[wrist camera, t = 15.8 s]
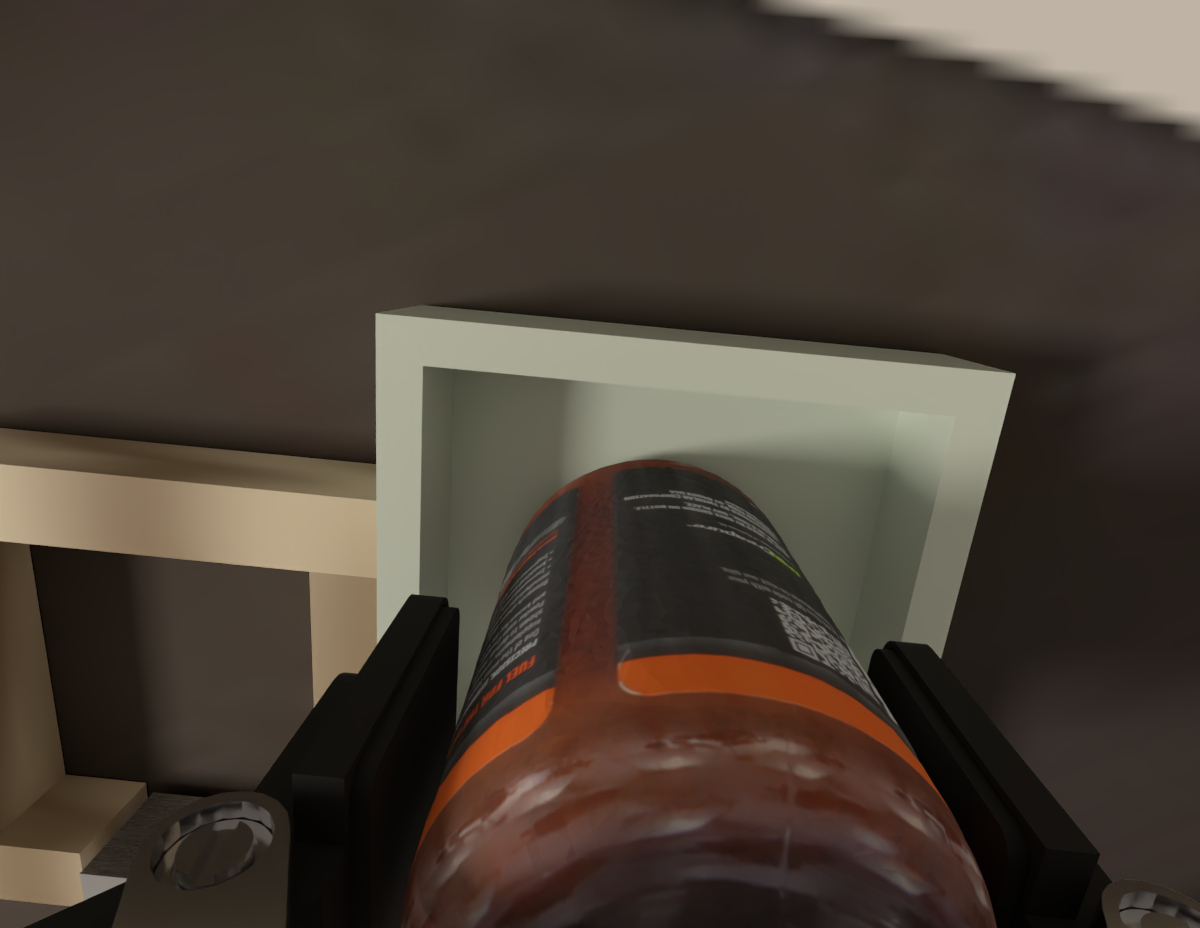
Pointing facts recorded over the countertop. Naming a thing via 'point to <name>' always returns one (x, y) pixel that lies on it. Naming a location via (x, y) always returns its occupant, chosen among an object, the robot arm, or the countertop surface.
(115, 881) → the capped grey bar
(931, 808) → the supplement bottle
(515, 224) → the countertop surface
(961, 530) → the tray
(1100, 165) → the countertop surface
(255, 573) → the countertop surface
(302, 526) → the socket block
